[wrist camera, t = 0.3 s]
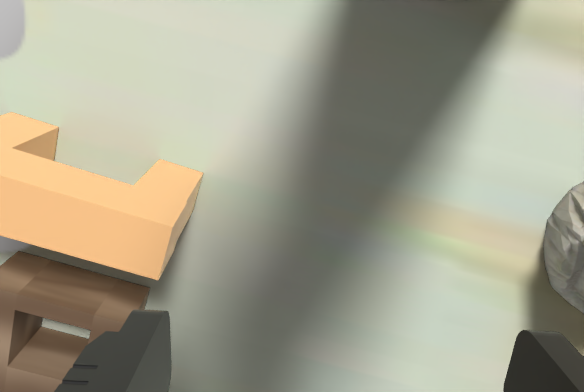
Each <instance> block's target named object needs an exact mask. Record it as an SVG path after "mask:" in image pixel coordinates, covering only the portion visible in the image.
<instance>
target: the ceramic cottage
mask: <svg viewBox="0 0 584 392" xmlns="http://www.w3.org/2000/svg"><path fill="white" fill-rule="evenodd" d="M547 221H548V222H547V226H546V231H545V236H544V243H543V247H544V259H545V266H546V270H547V272H548V273H547V274H548V276H549V281H550V284H551V286H552V288H553V289H554V290H555V291H557V292H558V293H559V294H560V295H561V296H562V297H563V298H564V299H565V300H566V301H568V302H569V303H570V304H571V305H572V306H574V307H576V308H577V309H579V310H580V311H581V312H582V313H583V314H584V181H583V182H582V183H580V184H579V185H577V186H575V187H573V188H572V190H569V191H568V193H567V194H566V195H565V196H564V197H563V198H562V200H561V201H560V202H559V203H558V204H557V206H556V207H555V208H554V210H553V214H552V215H551V216H550V217H549V218H548V219H547Z"/></svg>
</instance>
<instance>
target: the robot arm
mask: <svg viewBox="0 0 584 392" xmlns="http://www.w3.org/2000/svg"><path fill="white" fill-rule="evenodd" d="M170 379H171V341H170V317H169V313H168V311H158V310H139V309H134V310H132V312H131V313H130V315H129V316H128V318H127V319H126V321H125V323H124V324H123V326H122V328H121V329H120V331H119V332H113V331H105V332H104V333H103V334H101V335H100V336H99V337H97V338H96V339H95V340H93V341H92V342H90V343H89V344H88V345H86V346H85V348H84V349H83V351H82V352H81V354H80V355H79V356H78V358H77V359H76V361H75V362H74V364H73V367H72V368H70V369H69V371H68V372H67V374H66V375H65V377H64V378H63V380H62V384H59V385H58V387H57V388H56V390H55V391H54V392H168V390H169V386H170ZM504 392H584V356H582V355H581V354H580V353H579V352H578V351H577V350H576V349H575V348H574V347H573V345H572V344H571V343H570V342H569V341H568V340H567V339H566V338H565V337H564V336H563V335H562V334H560V333H559V332H549V331H530V330H523V331H521V332H520V333H519V334H518V336H517V338H516V341H515V345H514V349H513V352H512V356H511V360H510V364H509V367H508V371H507V375H506V379H505V382H504Z"/></svg>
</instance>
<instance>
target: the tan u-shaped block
mask: <svg viewBox="0 0 584 392" xmlns="http://www.w3.org/2000/svg"><path fill="white" fill-rule="evenodd" d="M58 130H59V127H57V126H54V125H51V124H47V123H44V122H41V121H38V120H35V119H32V118H29V117H25V116H22V115H19V114H16V113H13V112H10V113H7V114H4V115H1V116H0V236H4V237H7V238H11V239H15V240H18V241H22V242H25V243H28V244H32V245H35V246H39V247H42V248H46V249H50V250H53V251H57V252H60V253H64V254H67V255H71V256H74V257H78V258H81V259H85V260H88V261H92V262H95V263H99V264H102V265H106V266H109V267H113V268H116V269H120V270H123V271H127V272H130V273H134V274H137V275H141V276H144V277H148V278H152V279H155V280H159V278H160V277H161V275H162V273H163V271H164V269H165V267H166V265H167V263H168V261H169V259H170V258H171V256H172V254H173V252H174V249H175V246H176V242H177V240H178V238H179V236H180V234H181V232H182V230H183V229H184V227H185V225H186V223H187V221H188V219H189V217H190V216H191V214H192V212H193V208H194V205H195V201H196V198H197V194H198V191H199V187H200V184H201V180H202V176H203V173H202V172H199V171H196V170H193V169H189V168H186V167H183V166H180V165H177V164H174V163H170V162H167V161H164V160H161V159H159V160H158V161H157V162H156V163H155V164H154V165H153V166H152V167H151V168H150V169H149V170H148V171H147V172H146V173H145V174H144V175H143V176H142V177H141V178H140V179H139V180H138V181H137V182H136V183H135V184H134V185H130V184H127V183H124V182H120V181H117V180H114V179H111V178H107V177H104V176H101V175H98V174H94V173H91V172H88V171H85V170H81V169H78V168H75V167H72V166H68V165H65V164H62V163H59V162H55V161H54V157H55V150H56V143H57V137H58Z"/></svg>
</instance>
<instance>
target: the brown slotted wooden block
mask: <svg viewBox="0 0 584 392" xmlns="http://www.w3.org/2000/svg"><path fill="white" fill-rule="evenodd" d="M149 290H150V288H148V287H145V286H141V285H138V284H134V283H131V282H127V281H123V280H120V279H116V278H113V277H109V276H106V275H102V274H99V273H95V272H92V271H88V270H84V269H81V268H77V267H74V266H70V265H67V264H63V263H60V262H56V261H52V260H49V259H45V258H42V257H38V256H35V255H31V254H28V253H24V252H21V251H18V252H17V253H16V254H14V255H13V256H12V257H11V258H9V259H8V260H7V261H6V262H5V263H3V264H2V265H1V266H0V392H54V391H55V390H56V388H57V387H58V385H59V384H62V380H63V378H64V377H65V375H66V374H67V372H68V371H69V369H70V368H72V367H73V364H74V362H75V361H76V359H77V358H78V356H79V355H80V354H81V352H82V351H83V349H84V348H85V346H86V345H88V344H89V343H90V342H92V341H93V340H95V339H96V338H97V337H99V336H100V335H101V334H103V333H104V332H105V331H113V332H119V331H120V329H121V328H122V326H123V324H124V323H125V321H126V319H127V318H128V316H129V315H130V313H131V312H132V310H134V309H139V310H144V309H145V305H146V301H147V297H148V293H149ZM42 317H43V318H47V319H51V320H55V321H58V322H62V323H66V324H70V325H73V326H77V327H81V328H85V329H88V330H91V332H90V337H89V339H86V338H82V337H79V336H75V335H71V334H67V333H63V332H60V331H56V330H52V329H48V328H45V327H41V323H42Z"/></svg>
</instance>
